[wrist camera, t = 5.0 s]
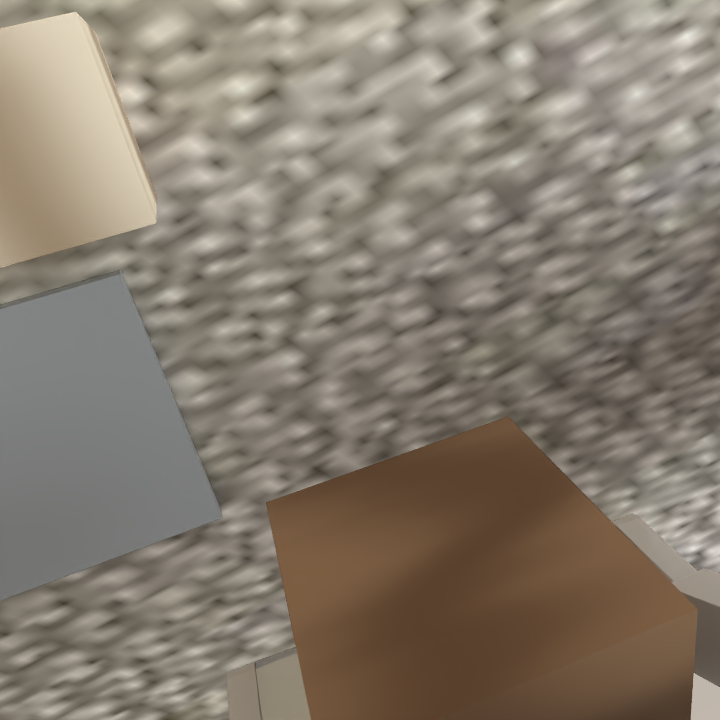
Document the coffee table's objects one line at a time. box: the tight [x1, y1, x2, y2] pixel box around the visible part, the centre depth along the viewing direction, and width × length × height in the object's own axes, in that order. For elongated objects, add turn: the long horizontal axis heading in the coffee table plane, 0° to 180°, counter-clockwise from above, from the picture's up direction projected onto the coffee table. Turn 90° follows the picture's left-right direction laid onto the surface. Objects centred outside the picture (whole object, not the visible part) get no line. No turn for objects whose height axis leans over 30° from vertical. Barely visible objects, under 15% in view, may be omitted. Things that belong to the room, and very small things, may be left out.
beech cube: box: [0, 12, 157, 268], centre depth 17 cm, size 5×5×5 cm
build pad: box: [0, 270, 222, 601], centre depth 22 cm, size 11×11×1 cm
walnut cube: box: [266, 417, 698, 720], centre depth 11 cm, size 5×5×5 cm
